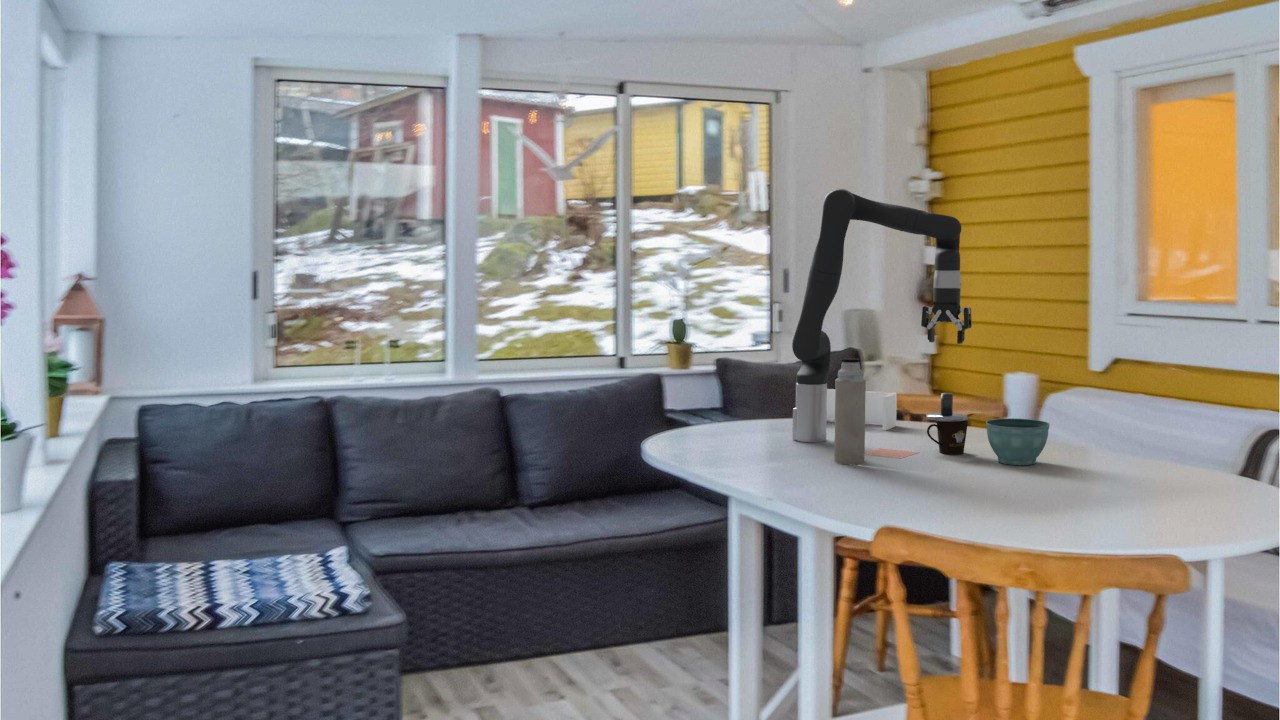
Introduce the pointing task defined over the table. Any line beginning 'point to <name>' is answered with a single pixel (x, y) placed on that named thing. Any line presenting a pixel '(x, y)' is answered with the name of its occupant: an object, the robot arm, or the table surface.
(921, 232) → the robot arm
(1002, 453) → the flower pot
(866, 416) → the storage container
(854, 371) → the thermos bottle
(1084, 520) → the table surface
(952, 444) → the coffee mug
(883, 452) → the mat
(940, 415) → the lid
